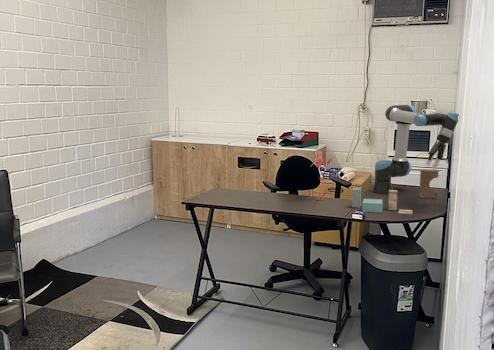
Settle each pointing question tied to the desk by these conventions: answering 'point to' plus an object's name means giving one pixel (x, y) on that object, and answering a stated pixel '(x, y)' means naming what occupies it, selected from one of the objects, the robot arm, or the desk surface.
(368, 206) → the teal base block
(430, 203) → the desk surface
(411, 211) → the maple swatch tile
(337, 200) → the desk surface
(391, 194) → the maple pillar
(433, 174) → the decorative block
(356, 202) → the slate-grey pillar
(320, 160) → the figurine
